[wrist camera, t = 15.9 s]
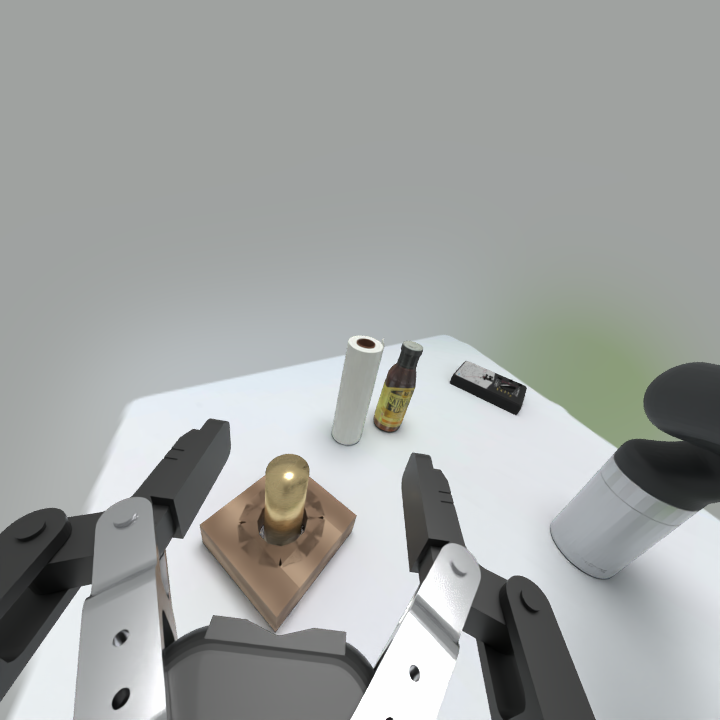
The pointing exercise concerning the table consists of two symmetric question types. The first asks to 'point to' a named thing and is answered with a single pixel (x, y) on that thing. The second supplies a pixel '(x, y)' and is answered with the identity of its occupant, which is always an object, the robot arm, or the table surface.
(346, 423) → the paper towel roll
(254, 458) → the table surface
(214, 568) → the table surface
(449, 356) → the table surface
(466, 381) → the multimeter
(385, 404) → the sauce bottle
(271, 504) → the yellow cylinder peg
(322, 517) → the jig
